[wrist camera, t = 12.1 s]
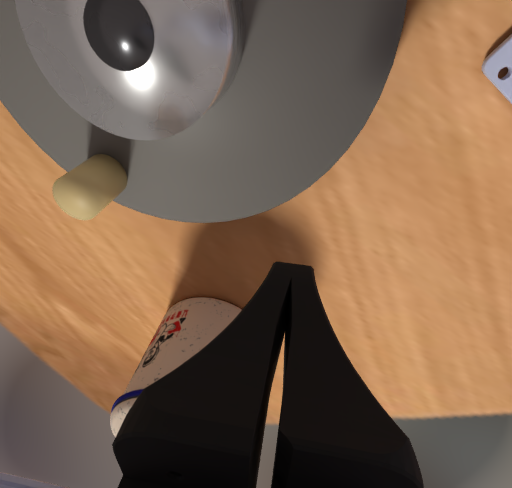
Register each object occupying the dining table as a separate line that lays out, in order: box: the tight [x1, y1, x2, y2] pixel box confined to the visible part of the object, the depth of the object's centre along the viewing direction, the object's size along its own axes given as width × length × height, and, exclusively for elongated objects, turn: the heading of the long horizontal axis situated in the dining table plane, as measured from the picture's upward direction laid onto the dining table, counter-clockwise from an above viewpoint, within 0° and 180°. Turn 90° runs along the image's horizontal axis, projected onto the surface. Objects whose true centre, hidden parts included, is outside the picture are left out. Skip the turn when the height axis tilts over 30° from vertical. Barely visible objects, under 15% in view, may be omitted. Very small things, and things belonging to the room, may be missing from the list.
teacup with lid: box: [110, 297, 242, 438], centre depth 26 cm, size 12×9×12 cm
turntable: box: [0, 0, 407, 223], centre depth 15 cm, size 20×20×5 cm
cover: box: [15, 0, 245, 140], centre depth 14 cm, size 8×8×3 cm
